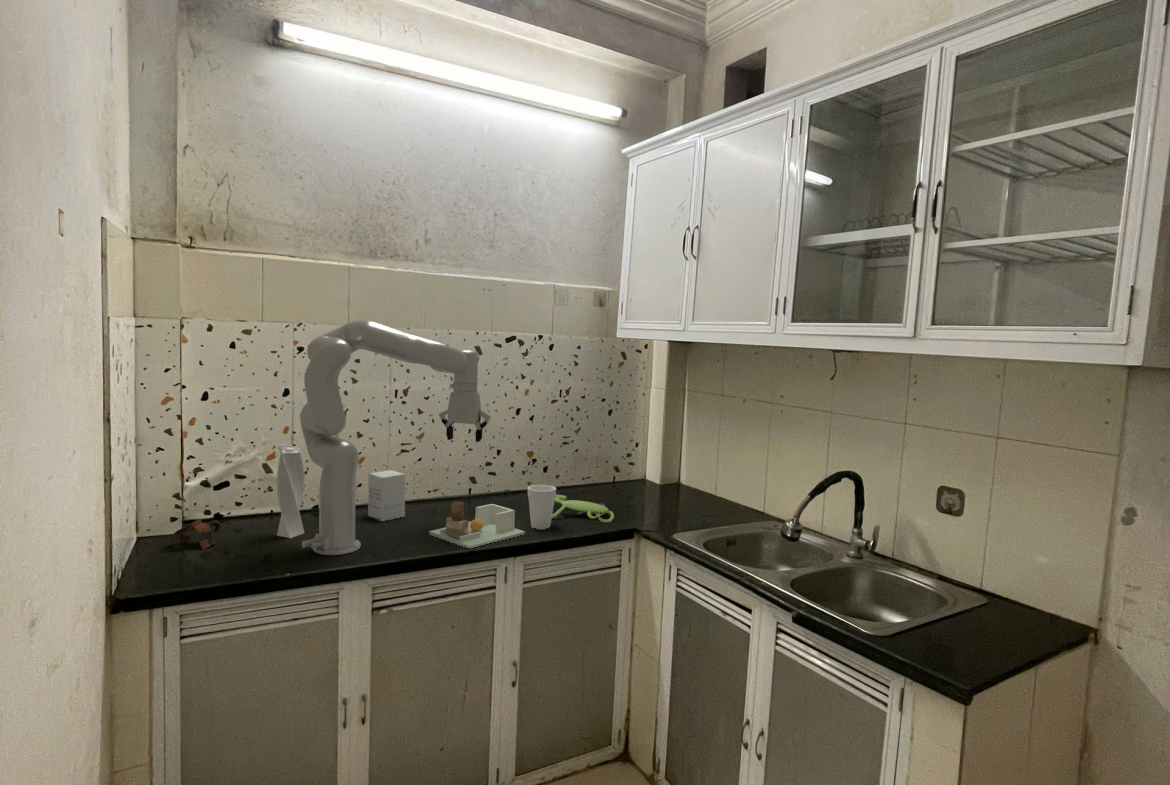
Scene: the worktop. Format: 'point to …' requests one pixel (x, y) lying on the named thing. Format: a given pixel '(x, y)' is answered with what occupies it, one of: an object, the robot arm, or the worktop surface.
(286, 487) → the skyscraper
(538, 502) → the foam cup
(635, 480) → the worktop surface
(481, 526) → the ball
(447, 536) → the pitch
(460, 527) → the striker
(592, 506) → the figurine
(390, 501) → the supplement box
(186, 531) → the brown irregular piece
